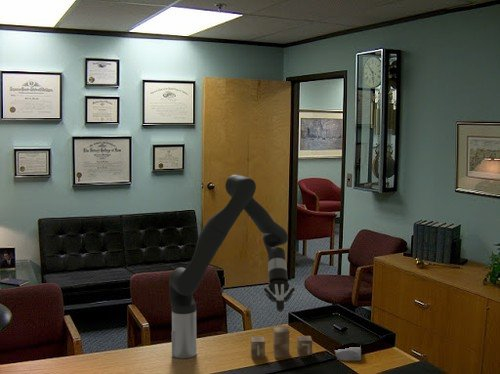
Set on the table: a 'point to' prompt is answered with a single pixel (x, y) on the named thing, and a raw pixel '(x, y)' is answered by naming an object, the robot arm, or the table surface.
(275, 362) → the table surface
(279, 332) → the plain pillar
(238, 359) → the table surface
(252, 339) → the block one
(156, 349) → the table surface
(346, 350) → the stone block
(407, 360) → the table surface
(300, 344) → the block seven
